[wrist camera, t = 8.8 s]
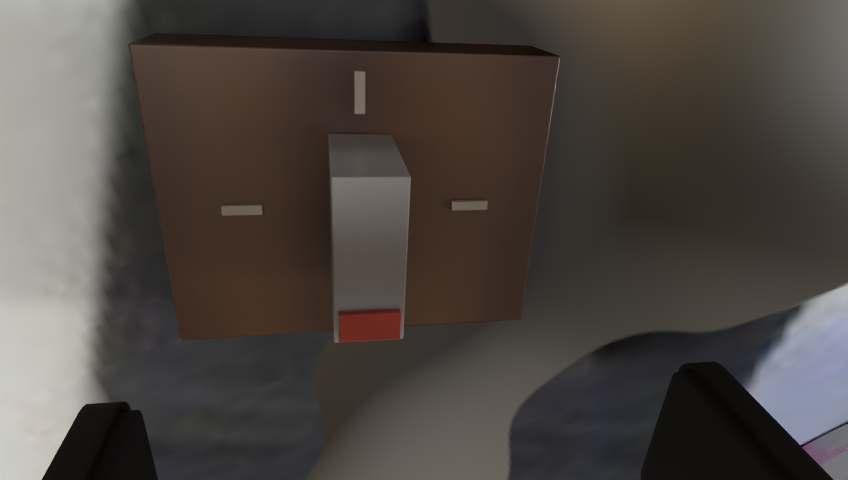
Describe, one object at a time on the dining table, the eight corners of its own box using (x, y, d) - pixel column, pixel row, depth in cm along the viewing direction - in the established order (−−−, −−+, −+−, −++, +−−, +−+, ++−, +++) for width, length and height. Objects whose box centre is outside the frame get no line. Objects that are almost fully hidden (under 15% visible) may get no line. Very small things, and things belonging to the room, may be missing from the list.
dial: (328, 133, 19) (331, 180, 14) (392, 134, 19) (412, 179, 15) (330, 273, 21) (334, 348, 17) (387, 271, 21) (404, 344, 17)
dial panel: (531, 45, 22) (563, 56, 19) (500, 284, 26) (522, 321, 24) (153, 33, 19) (125, 43, 16) (195, 299, 24) (178, 343, 21)
